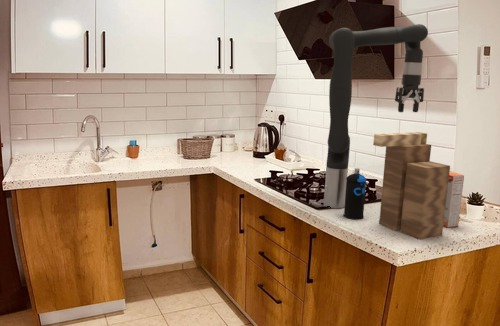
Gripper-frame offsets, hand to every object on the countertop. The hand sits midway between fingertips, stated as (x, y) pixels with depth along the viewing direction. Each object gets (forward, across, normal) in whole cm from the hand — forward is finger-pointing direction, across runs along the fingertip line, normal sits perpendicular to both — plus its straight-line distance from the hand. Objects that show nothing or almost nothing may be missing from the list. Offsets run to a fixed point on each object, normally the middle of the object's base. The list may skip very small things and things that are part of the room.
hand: (408, 112), depth 203 cm
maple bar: (+10, -24, -20) cm, 33 cm away
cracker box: (+42, -1, -24) cm, 48 cm away
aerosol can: (+42, -29, -4) cm, 52 cm away
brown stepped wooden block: (+42, -19, -25) cm, 53 cm away
